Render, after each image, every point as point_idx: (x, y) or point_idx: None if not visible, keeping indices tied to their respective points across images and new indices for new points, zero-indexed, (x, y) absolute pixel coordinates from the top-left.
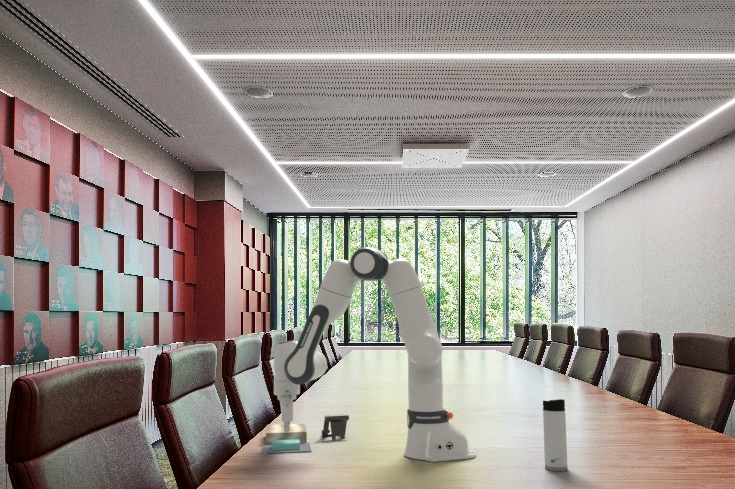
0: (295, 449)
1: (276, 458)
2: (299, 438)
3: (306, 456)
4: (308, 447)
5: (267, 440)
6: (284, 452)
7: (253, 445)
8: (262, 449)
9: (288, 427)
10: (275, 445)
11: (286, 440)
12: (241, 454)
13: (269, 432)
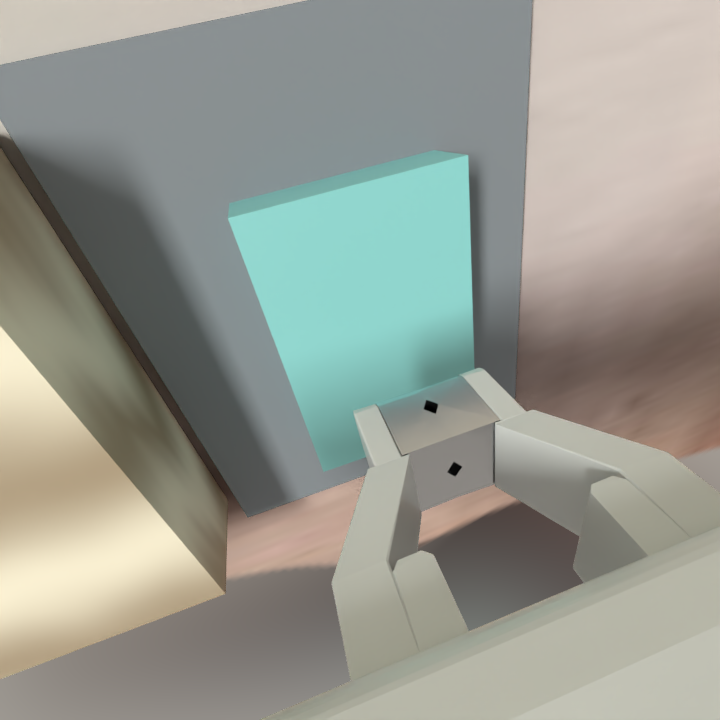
0: None
1: (651, 287)
2: (29, 258)
3: (692, 9)
4: (336, 36)
5: (223, 523)
6: (517, 279)
7: (257, 552)
8: None
9: (510, 411)
10: None
11: (322, 358)
12: (496, 500)
13: (184, 587)
